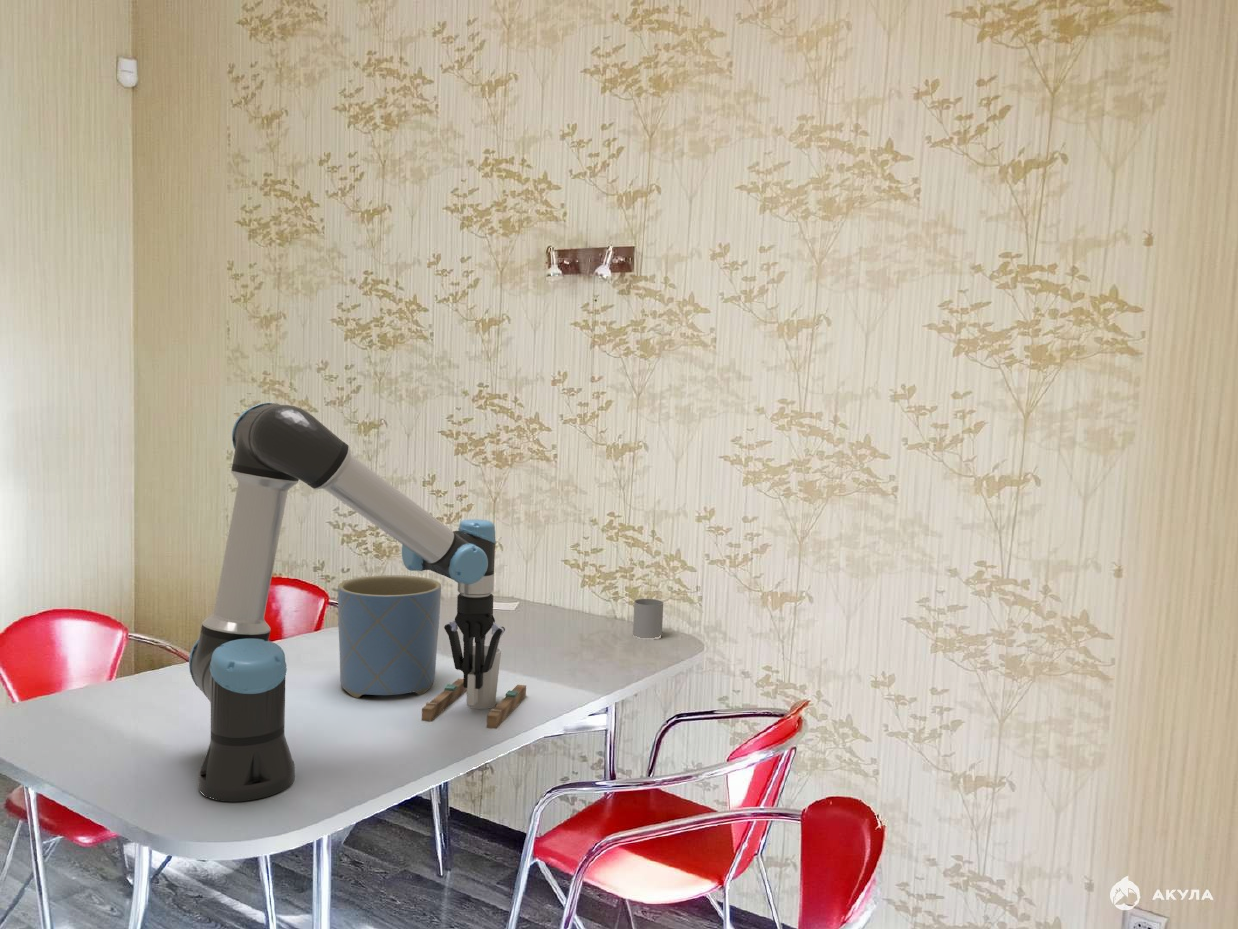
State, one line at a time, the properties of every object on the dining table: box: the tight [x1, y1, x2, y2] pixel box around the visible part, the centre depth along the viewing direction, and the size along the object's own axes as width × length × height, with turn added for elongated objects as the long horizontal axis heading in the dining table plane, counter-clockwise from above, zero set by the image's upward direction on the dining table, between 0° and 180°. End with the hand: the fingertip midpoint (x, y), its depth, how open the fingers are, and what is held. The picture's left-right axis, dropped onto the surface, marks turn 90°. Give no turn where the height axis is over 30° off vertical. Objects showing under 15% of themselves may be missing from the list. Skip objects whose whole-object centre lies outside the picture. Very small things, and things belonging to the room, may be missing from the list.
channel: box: [421, 678, 527, 729], centre depth 197 cm, size 21×16×3 cm
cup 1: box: [465, 644, 502, 710], centre depth 199 cm, size 8×8×12 cm
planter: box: [337, 574, 442, 699], centre depth 209 cm, size 23×23×24 cm
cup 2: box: [632, 598, 664, 638], centre depth 262 cm, size 8×8×10 cm
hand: (472, 702), depth 194 cm, fingers closed
